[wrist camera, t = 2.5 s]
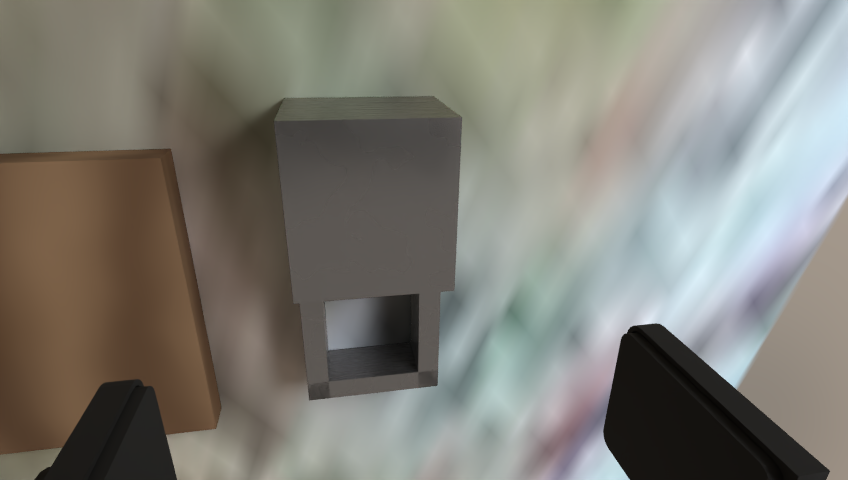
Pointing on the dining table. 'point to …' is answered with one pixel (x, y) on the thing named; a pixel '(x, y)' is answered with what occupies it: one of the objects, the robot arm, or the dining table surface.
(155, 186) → the board
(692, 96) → the dining table surface
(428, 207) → the open ended gray sleeve
